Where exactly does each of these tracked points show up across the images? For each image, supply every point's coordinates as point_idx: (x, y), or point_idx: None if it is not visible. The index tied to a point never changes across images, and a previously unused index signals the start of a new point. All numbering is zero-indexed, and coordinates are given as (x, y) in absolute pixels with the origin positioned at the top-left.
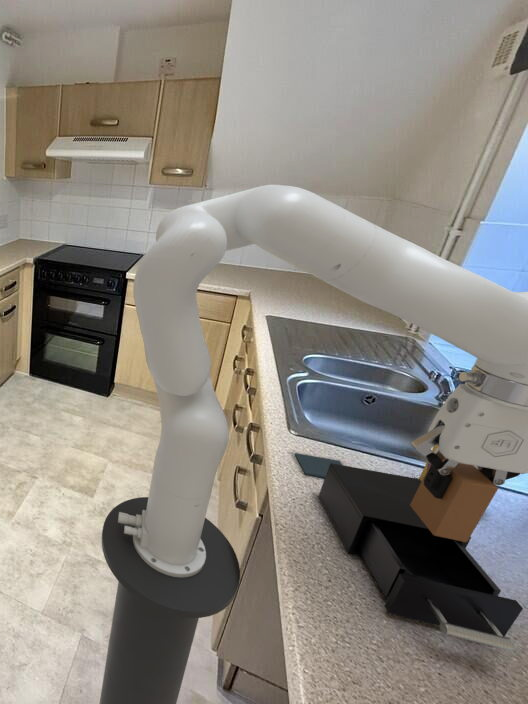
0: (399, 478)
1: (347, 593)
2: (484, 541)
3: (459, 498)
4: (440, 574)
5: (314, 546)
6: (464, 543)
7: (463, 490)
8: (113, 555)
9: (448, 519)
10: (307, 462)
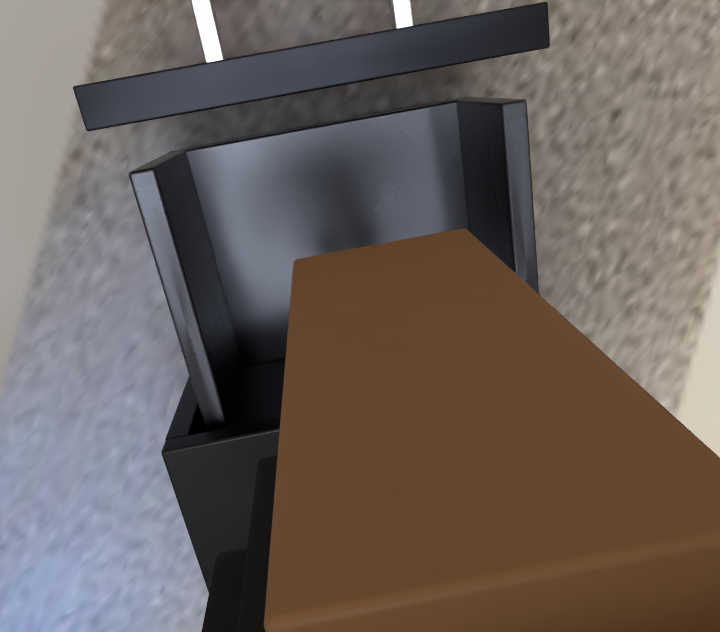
0: None
1: (571, 81)
2: (44, 569)
3: (561, 370)
4: (253, 303)
5: (615, 263)
6: (181, 426)
7: (624, 434)
8: None
9: (477, 272)
10: None
